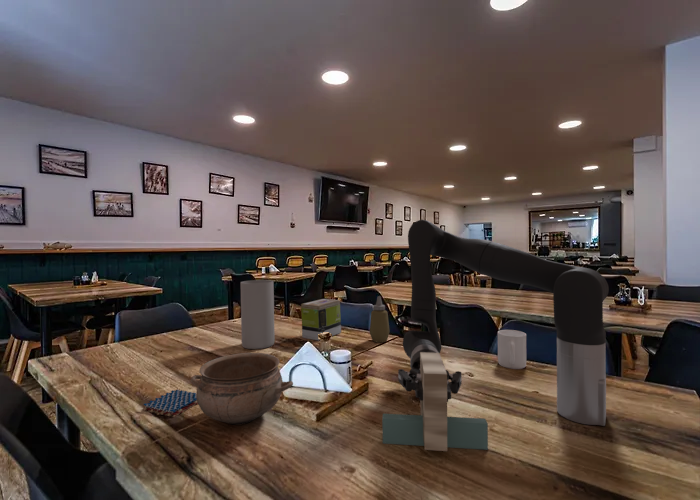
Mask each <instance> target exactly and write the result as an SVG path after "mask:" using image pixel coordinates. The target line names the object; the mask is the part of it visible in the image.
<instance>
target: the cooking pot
mask: <svg viewBox="0 0 700 500" xmlns="http://www.w3.org/2000/svg"><path fill="white" fill-rule="evenodd" d="M279 365H280V359H279V358H278V357H276V356H274V355H272V354H268V353H262V352H244V353H234V354H229V355H225V356H220V357H217V358H215V359H212V360H209V361H207V362H206V363H204V364H202V366H200V368H199V373H200V375H199V374H196V375H195V374H194V375H193V376H192V377H191V378H190V382H191V383H192V384H193V385H194V386H195V387H197V388H196V392H195V393H196V396H197V403H198V404H197V405H198V407H199V408H200V411H201V412H202V413H203V414H205V415H206V416H207V417H208V418H210V419H212V420H215V421H218V422H222V423H227V424H230V425H236V426H238V425H244V424H249V423H251V422H252V421H254V420H256V419H257V418H260V417H261V416H263V415H264V414H266V413H268V412H269V411H270V410H271V409H273V407H274V406H276V404H277V403H278V401H279V400H280V398H281V396H282V393H283V392H285V391H287V390H288V389H290V388H291V387H293V385H294V382H293V381H292V380H289V381H283V377H282V373H281V371H280V368H279V367H278V366H279ZM198 380H199V381H198Z"/></svg>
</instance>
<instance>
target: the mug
mask: <svg viewBox="0 0 700 500" xmlns="http://www.w3.org/2000/svg"><path fill="white" fill-rule="evenodd" d="M497 363H498V364H499V365H500V366H501V367H503V368H506V369H511V370H521V369H525V367H526V366H527V333H525V332H523V331H521V330H514V329H501V330H498V331H497Z"/></svg>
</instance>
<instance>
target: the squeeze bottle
mask: <svg viewBox="0 0 700 500" xmlns="http://www.w3.org/2000/svg"><path fill="white" fill-rule="evenodd" d="M388 313H389V312H388V311H387V310H386V305H385V304H383V301H382V296H380V295H379V296H377V298H376V302H375V304H373V310H372V311H371V312H370V322H369V323H370V324H369V334H370V337H371V340H372V341H373V342H374V343H385V342H387V340H388V338H389V334H390V325H389V324H390V323H389V315H388Z"/></svg>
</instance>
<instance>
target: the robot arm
mask: <svg viewBox="0 0 700 500" xmlns="http://www.w3.org/2000/svg"><path fill="white" fill-rule="evenodd" d="M407 243H408V251H409V261H410V273H411V302H410V303H411V304H410V319H411V320H412V321H413V322H416V323H418V324H422V325H424V326H426V328H427V329H428V331H425V330H413V329H412V330H408V331H406V332H405V334H404V336H403V338H402V348H403V350H404V353H405V354H406V356H407V357H408V358H409V359H410V365H409V367H410V370H409V371H407V370H406V371H405V369H402V368H399V369H398V371H397V372H398V374H397V375H398V376H397V377H398V382H399V384H400V385H401V386H402V387H403V388H404V389H405V391H406V392H412V391H414V393H415V398H417V399H419V401H420V400H421V401H423V386H422V382H421V372H420V352H429V353H439V354H440V355H441V351H442V342H441V338H440V333H439V330H438V324H437V318H436V317H437V316H436V313H437V312H436V310H437V294H436V287H435V281H434V278H433V274H432V266H431V256H434V257H438V258H441V259H442V258H443V259H446V260H450V261H453V262H455V263H458V264H460V265H461V266H463V267H466V268H468V269H469V270H472V271H474V272H476V273H478V274H481V275H484V276H487V277H489V278H492V279H495V280H498V281H503V282H508V283H512V284H518V285H525V286H531V287H535V288H538V289H541V290H543V291H547V292H548V293H549V292H550V293H552V295H553V297H552V298H553V320H554V322H553V323H554V327H555V329H556V410H557V414H559V415H560V416H561V417H563V418H565V419H567V420H569V421H571V422H574V423H578V424H583V425H588V426H589V425H590V426H591V425H593V426H596V425H597V426H603V427H605V426H606V419H607V374H606V373H607V372H606V360H607V359H606V352H607V351H606V349H607V348H606V346H607V345H606V342H607V339H606V338H607V335H606V330H605V327H604V314H603V313H604V312H603V311H604V308H603V305H604V304H603V303H604V301H605V300H606V299H607V297H608V295H609V284H608V281H607V280H606V278H605V277H604V276H603V275H602V274H601V273H600V272H598V271H597V270H594V269H592V268H589V267H588V268H587V267H582V266H576V265H572V264H571V265H570V264H566V263H561V262H557V261H552V260H549V259H545V258H542V257H539V256H537V255H534V254H531V253H529V252H527V251H524V250H521V249H518V248H515V247H512V246H509V245H505V244H503V243H498V242H497V241H492V240H488V239H483V238H482V239H481V238H466V237H462V236H458V235H455V234H453V233H451V232H448V231H446V230H444V229H442V228H440V227H439V226H438V225H436V224H434V223H433V222H432V221H429V220H427V219H419V220H416V221H415V222H413V223H412V224H411V225H410V228H409V229H408V233H407ZM441 359H442V357H441ZM442 362H443V363H444V361H443V359H442ZM445 370H446V373H447V403H448V402H449V400H451V399H452V394H458V393H459V392H460V388H461V386H462V377H463V375H462V371H459V370H458V371H455V372H452V373H449V370H447V369H445ZM449 380H450V381H449Z"/></svg>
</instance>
